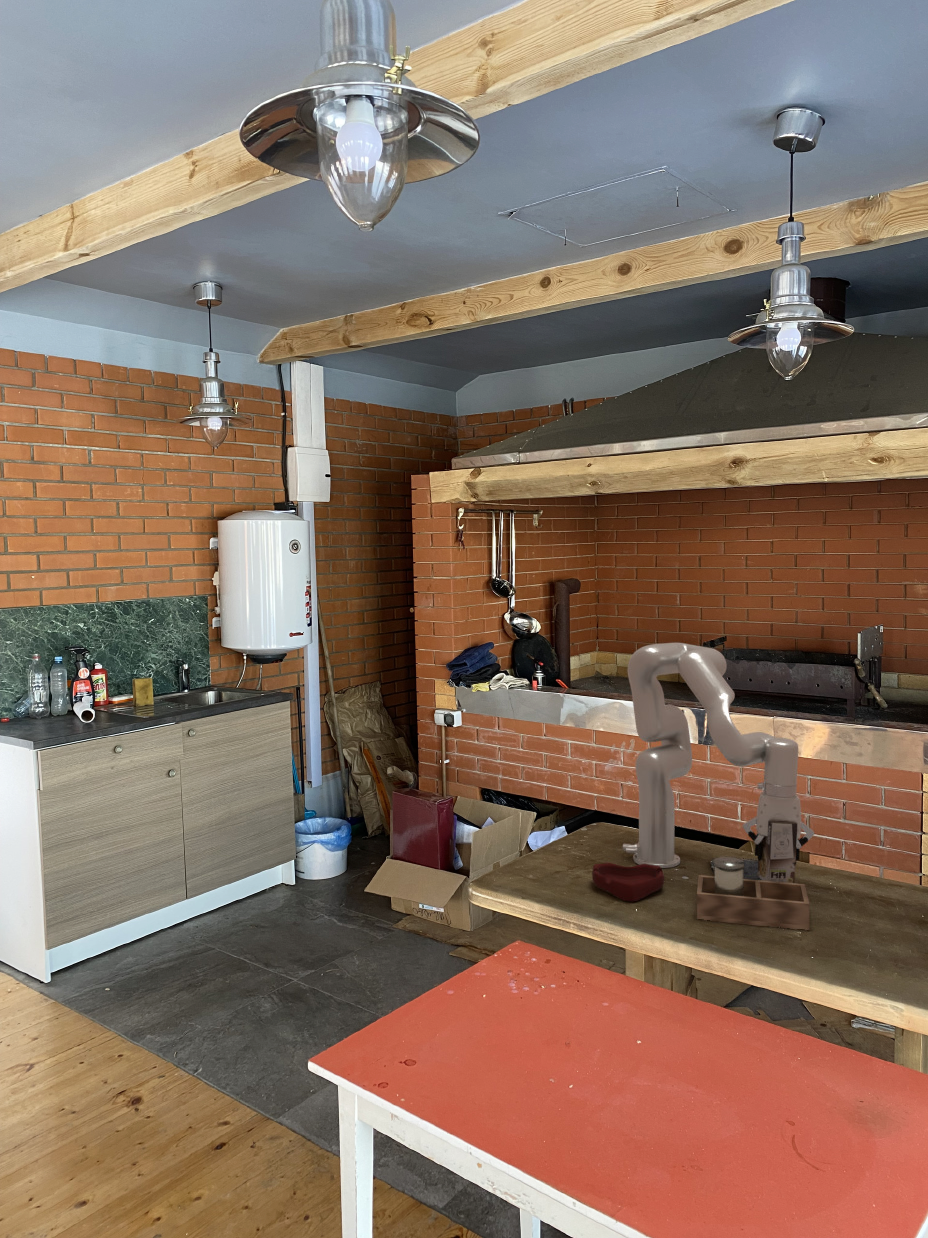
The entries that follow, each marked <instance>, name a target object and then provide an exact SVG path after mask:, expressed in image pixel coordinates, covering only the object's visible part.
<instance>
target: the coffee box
mask: <svg viewBox="0 0 928 1238" xmlns="http://www.w3.org/2000/svg"><path fill="white" fill-rule="evenodd" d="M797 824H798V823H796V822H788V821H768V836H767V837H765V836H764V837H763V839H762V840H761V844H762V848H761V860H760V861H759V860H758V859H757V862H758V863H757V876H758V877H759V879H760V880H761V881H773V882H784V883H795V881H796V880H795V878H796V865H795V861H796V862H797V860H796V842H797Z"/></svg>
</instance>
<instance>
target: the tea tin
mask: <svg viewBox="0 0 928 1238" xmlns="http://www.w3.org/2000/svg"><path fill="white" fill-rule="evenodd" d="M713 866H714V877H715V894H723V895H734V896H743V879H744V869H745V861H744V860H743V859H740V858H737V857H733V856H732V857H731V856H720V857H716V858H714V859H713Z"/></svg>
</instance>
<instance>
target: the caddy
mask: <svg viewBox="0 0 928 1238" xmlns="http://www.w3.org/2000/svg"><path fill="white" fill-rule="evenodd" d="M697 880H698V881H697V889H696V920H697V919H704V920H703V921H707V920H710V921H709V922H717V921H718V923H719V922H720V923H729V924H739V925H749V926H759V927H767V926H769V927H768V928H777V927H781V928H780V929H787V928H790V930H797V929H805V930H804V931H807V930H809V931H810V901H809V896H808V892H807V889H806V884H804V883H796V882H794V883H784V882H773V881H762V879H746V878H743V896H734V895H723V894H715V875H714V876H713V875H712V876H711V875H702V874H701V875H700V874H699V875H698V879H697Z"/></svg>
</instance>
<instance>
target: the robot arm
mask: <svg viewBox="0 0 928 1238" xmlns="http://www.w3.org/2000/svg"><path fill="white" fill-rule="evenodd" d="M726 671H727V660H726V658H725V656H724V655H723V653H721V652H720V651H719V650H717V649H715V648H711V647H706V646H702V645H694V644H689V643H684V642H667V643H666V642H665V643H653V644H648V645H645V646H642V647H640V648H638V649H637V650H636V651H634V652H633V654H632V655H631V656H630V658H629V661H628V664H627V676H628V682H629V685H630V691H631V696H632V706H633V713H634V720H635V721H634V722H635V728H636V729H635V730H636V733H637V736H638V737H639V738H640V739H641V741H643V742H645V743H657V742H660V744H661V745H657V746H654V747H649V748H646V749H644V750H642V751H641V752H640V753H639V754H638V756H637V757H636V760H635V766H634V767H635V774H636V779H637V785H638V842H637V843H634V844H630V843H622V851H624V852H625V853H629V854H633V856H632V857H633V862H634V863H636V865H640V864H649V865H655V866H660V867H661V869H668V868H669V869H670V868H674V867H677V866H678V865H680V864H681V858H680V856H679V855H678V854H676V853H675V795H674V791H673V789H672V786H671V782H670V781H671V780H674V779H677V778H678V779H679V778H682V777H684V776H686V775H688V773H690V771H691V769H692V766H693V751H692V745H691V736H690V728H689V722H688V718H687V717H686V715H685V713H684V711H682V709H681V708H680V707H679V706H676V705H674V704H666V703H665V693H664V691H663V687H662V685H661V683H660V681H659V680H658V679H657V677H658V676H661V675H670V674H671V675H672V674H680V676H681V678H682V679H683V680H684V682H685V683H686V684H687V687H689V689H690V690H691V692H692V693H693V694H694V696H695V697H696V699H697V701H699V703H700V705H701V706H702V707H703V709H704V710H705V713H706V725H707V728H708V733H709V735H710V738H711V740H712V742H713V743H714V744H715V746H716V747H717V749H718V750H719V751H720V753H721V754H722V755H723V757H724V758H725V759H726V760H727V761H728V762H729V763H730V764H732V765H733V766H736V767H748V766H752V765H756V764H761V763H764V771H763V776H764V777H763V781H762V782H760V783H759V782H757V789H759V790H762V791H761V792H760V795H759V799H758V805H757V811H756V816H754V817H753V818H751V819H749V820H748V821H746V822H744V823H743V824H742V828H743V830H744V831H745V833H746V834H747V836H748V837H749V838H750V839H751V840H752V841H753V842H754V843H755V844H754V856H755V857H756V856H757V861H758V860H759V861H760V860H761V848H762V844H761V840H762V839H763V837H764V836H765V837H767V836H768V821H788V822H796V823H798V824H797V842H796V861H795V866H796V865H797V861H800V850H801V848H802V847H803V846H805V844H807V843H808V842H809V841H810V840H811V839H812V838H813V837H814V836H815V832H814V830H813V829H812V828H810V827H809V826H808V825H807V824H805V823H804V822H803V821H802V808H801V799H800V797H799V796H798V795H797V786H798V785H797V784H798V768H799V766H798V765H799V744H798V743H797V742H796V741H795V740H793V739H789V738H786V737H785V738H784V737H778V736H777V737H776V736H774V735H771V734H768V733H765V732H761V731H754V732H749V733H744V734H742V733H741V732H740V731H739V730H738V729H737V726H736V725H735V724H734V721H733V720H732V717H731V716H730V706H731V704H732V703H733V701H734V700H735V696H736V695H735V691H734V690H733V688H731V686H730V685H729V684H728V683H727V681H726V679H725V678H724V677H723V676H724V674H725V673H726ZM753 826H756V833H755V832H754V831H753V830H752V827H753ZM802 830H803V832H804V833H805V834H804V835H803V836H802V837H801V835H802V834H801V833H802Z"/></svg>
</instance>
